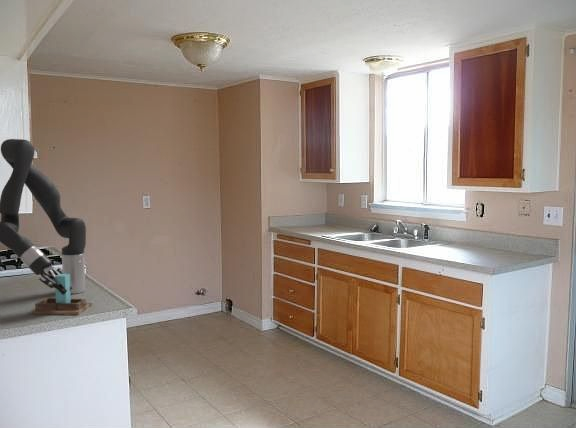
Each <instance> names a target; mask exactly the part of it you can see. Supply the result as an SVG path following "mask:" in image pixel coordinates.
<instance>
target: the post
mask: <svg viewBox="0 0 576 428" xmlns="http://www.w3.org/2000/svg"><path fill="white" fill-rule="evenodd" d="M55 277H56V278H57V281H58V282H59V283H60V284H61V285H62V286H63V287H64V288H65V289H66V290H67V292H66V293H65V294H61V293H60V292H59V291H58V290H57V289H56V288H54V290H55V298H56V303H71V299H72V298H71V295H72V294H70V274H58V275H56V276H55Z"/></svg>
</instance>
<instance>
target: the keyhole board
mask: <svg viewBox="0 0 576 428" xmlns="http://www.w3.org/2000/svg"><path fill="white" fill-rule="evenodd" d="M91 305H93V303H92V302H87V298H71V303H56V297H45V298H43V299H41V300H40V301H38V302H36V303H34V308H35V309H34V310H32V311H31V314H30V315H43V314H64V316H68V315H69V316H80V314H82V313H83V312H85V311H86V310H87V309H89V308H91V307H92V306H91ZM88 307H89V308H88ZM84 310H85V311H84ZM81 312H82V313H81Z"/></svg>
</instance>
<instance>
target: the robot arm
mask: <svg viewBox="0 0 576 428" xmlns="http://www.w3.org/2000/svg"><path fill="white" fill-rule="evenodd" d="M0 154H1V155H2V158H3V159H4V160H5V161H6V163H8V165H10V167H11V168H12V172H11V175H10V177H9V179H8V180H7V182H6V184H5V185H4V187H3V188H2V191H1V193H0V215H1V216H0V243H1V244H2V245H4V246H5V247H7V248H8V249H10V250H11V251H12V252H13V253H14V254H15V255H16V256H17V257H18V258H19V259H20V260H21V261H22V262H23V263H22V264H24V265H25V266H27V268H28V269H29V270H30V271H32V273H34V274H35V275H36V276H41V277H40V278H39V279H38V280H39V281H40V282H42V283H43V284H44V285H46V286H47V287H49V288H50V289H53V288H54V289H55V288H56V289H57V290H58V291H59V292H60V293H61V294H65V293H66V292H67V290H66V289H65V288H64V287H63V286H62V285H61V284H60V283H59V282H58V281H57V278H56V277H55V276H56V275H58V274H70V294H71V295H73V294H80V293H84V292H86V267H85V264H86V263H85V249H86V243H87V242H86V241H87V240H86V239H87V229H86V226H87V225H86V223H85V221H84V220H83V219H82V218H80V217H69V216H68V215H67V214H66V213H65V211H64V210H63V208H62V206H61V195H60V191H59V190H58V188H57V186H56V185H55V184H54V182H53V181H52V180H51V179H50V177H48V176H47V175H46V174H44V173H43V172H42V171H41V170H39V169H38V168H37V167H36V166H35V165H34V164H33V160H34V157H35V147H34V145H33V143H32V142H31V141H29V140H28V139H21V138H19V139H18V138H17V139H16V138H9V139H5V140H4V141H2V143H1V145H0ZM25 186H26V187H27V189H28V190H29V191H30V193H31V195H32V196H33V197H34V199H35V200H36V202H37V203H38V204H39V205H40V207H41V208H42V210H43V211H44V212H45V214H46V215H47V217H48V218H49V220H50V222H51V224H52V225H53V227H54V230H55V231H56V233H57V234H58V235H59V236H60V237H61V238H64V239H68V245H65V246H63V247H62V248H61V263H62V265H61V267H62V268H60V267H58V268H57V269H56V268H55V267H53V266H52V264H53V261H52V259H50V258H49V257H48V255H46V254H45V253H44V252H43V251H42V250H41V249H40V248H38V247H37V246H36V245H35V244H34V243H32V241H31V240H30V239H28V238H27V237H25V236H22V235H21V234H20V233H19V230H20V216H19V212H20V207H21V200H22V195H23V191H24V187H25Z"/></svg>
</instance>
